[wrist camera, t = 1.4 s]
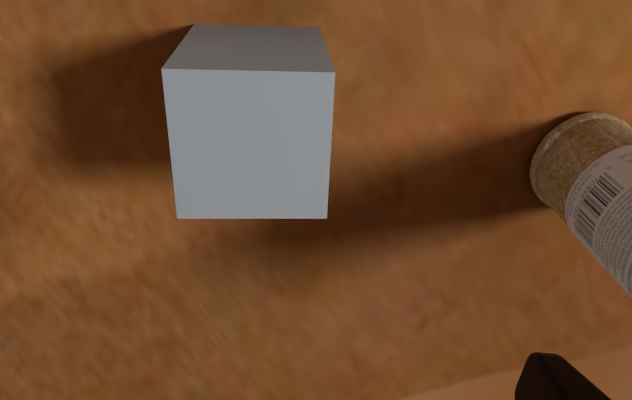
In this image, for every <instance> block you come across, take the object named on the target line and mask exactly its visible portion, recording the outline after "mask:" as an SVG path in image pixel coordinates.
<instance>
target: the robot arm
mask: <svg viewBox="0 0 632 400" xmlns="http://www.w3.org/2000/svg"><path fill="white" fill-rule="evenodd" d="M515 400H611V399H610V398H609V397H608V396H606V395H605V394H604V393H603V392H602V391H601V390H600V389H598V388H597V387H596V386H595V385H594V384H593V383H591V382H590V381H589V380H588V379H587V378H586V377H585V376H583V375H582V374H581V373H580V372H579V371H578V370H576V369H575V368H574V367H573V366H572V365H571V364H570V363H568V362H567V361H566V360H565V359H564V358H562V357H561V356H559V355H557V354H550V353H539V352H535V353H532V354H530V355H529V357H528V359H527V361H526V363H525V366H524V368H523V371H522V373H521V376H520V378H519V381H518V383H517V386H516V390H515Z"/></svg>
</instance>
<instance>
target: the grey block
mask: <svg viewBox="0 0 632 400" xmlns="http://www.w3.org/2000/svg"><path fill="white" fill-rule="evenodd" d="M161 71H162V81H163V90H164V99H165V109H166V118H167V128H168V137H169V146H170V156H171V165H172V174H173V184H174V193H175V203H176V212H177V219H327V210H328V192H329V174H330V156H331V139H332V121H333V103H334V86H335V70H334V67H333V65H332V62H331V59H330V56H329V53H328V50H327V47H326V44H325V41H324V38H323V36H322V33H321V30H320V28H317V27H280V26H243V25H207V24H194V25H193V26H192V28H191V29H190V30H189V32H188V33H187V35H186V36H185V37H184V39H183V40H182V41H181V43H180V44H179V45H178V47H177V48H176V49H175V51H174V52H173V54H172V55H171V56H170V58H169V59H168V60H167V62H166V63H165V64H164V66H163V67H162V68H161Z"/></svg>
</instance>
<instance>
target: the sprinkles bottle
mask: <svg viewBox="0 0 632 400" xmlns="http://www.w3.org/2000/svg"><path fill="white" fill-rule="evenodd" d="M529 176H530V181H531V184H532V188H533V190H534V192H535V193H536V195H537V196H538V198H539V199H540V200H541V201H542V202H544V203H545V204H546V205H548V206H549V207H552V208H553V209H554V210H555V211H556V213H557V214H558V215H559V216H560V217H561V218H562V219H563V220H564V221H565V223H566V224H567V225H568V227H569V229H570V230H571V231H572V233H573V234H574V235H575V236H576V237H577V238H578V239H579V240H580V241H581V243H582V244H583V245H584V246H585V247H586V248H587V249H588V250H589V251H590V253H591V254H592V255H593V256H594V257H595V258H596V259H597V260H598V261H599V263H600V264H601V265H602V266H603V267H604V268H605V269H606V270H607V271H608V272H609V274H610V275H611V276H612V277H613V278H614V279H615V280H616V281H617V282H618V283H619V285H620V286H621V287H622V288H623V289H624V290H625V291H626V292H627V293H628V294H629V295H630V296H631V298H632V128H631V127H630V125H629V124H627V123H626V122H625V121H624V120H622V119H620V118H617V117H616V116H614V115H611V114H607V113H602V112H593V113H583V114H580V115H577V116H574V117H572V118H570V119H568V120H566V121H564V122H562V123H560V124H559V125H558V126H557V127H555V128H554V129H552V130H551V131H550V132H549V133H548V134H546V136H545V137H544V138H543V140H542V141H541V142H540V144H539V146H538V147H537V149H536V152H535V153H534V155H533V158H532V161H531V166H530V174H529Z"/></svg>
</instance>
